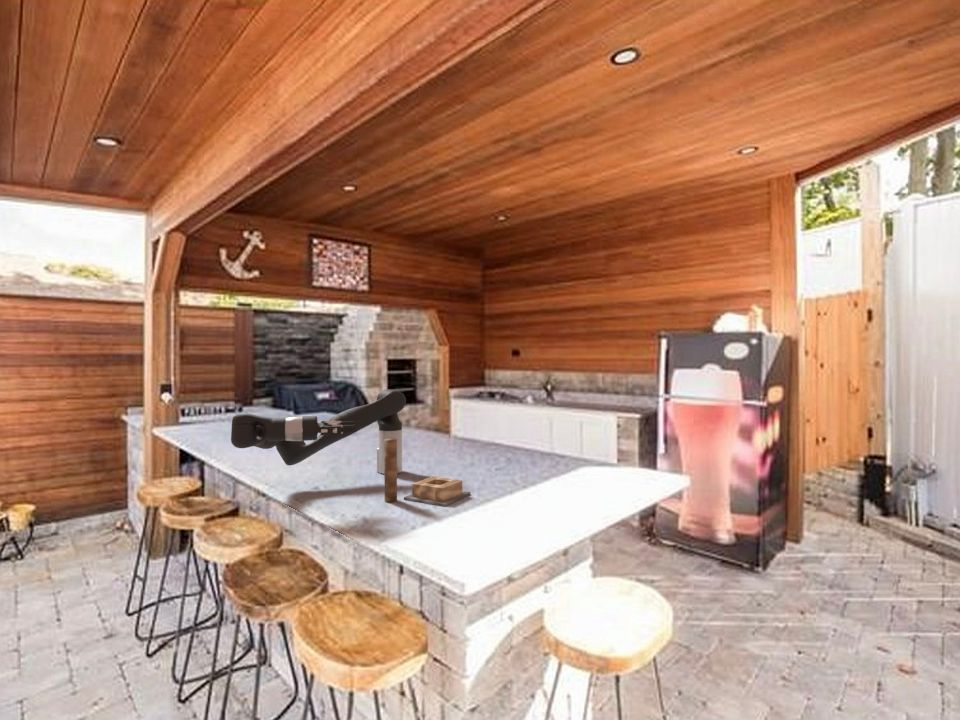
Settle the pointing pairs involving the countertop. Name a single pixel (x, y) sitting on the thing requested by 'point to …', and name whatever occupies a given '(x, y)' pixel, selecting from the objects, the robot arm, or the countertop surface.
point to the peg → (390, 469)
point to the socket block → (437, 491)
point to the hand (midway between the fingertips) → (354, 426)
